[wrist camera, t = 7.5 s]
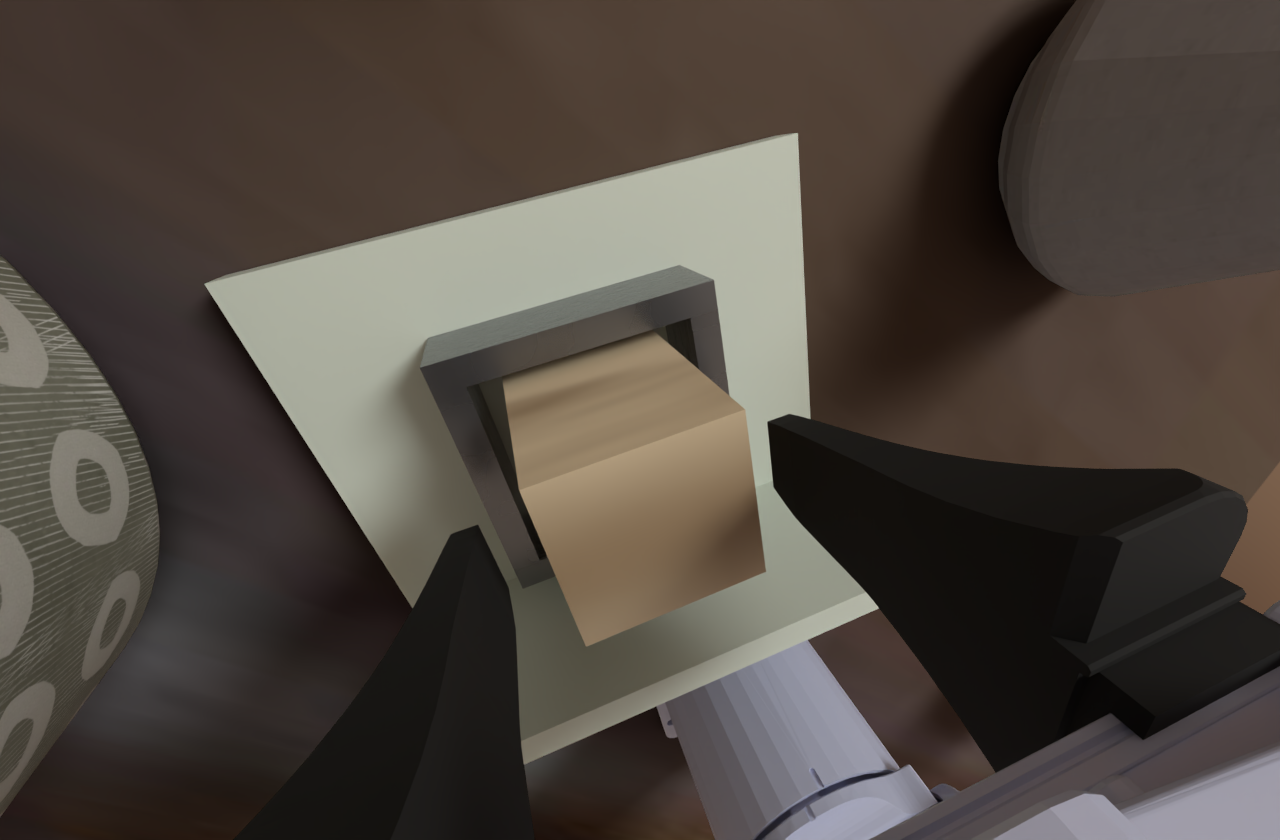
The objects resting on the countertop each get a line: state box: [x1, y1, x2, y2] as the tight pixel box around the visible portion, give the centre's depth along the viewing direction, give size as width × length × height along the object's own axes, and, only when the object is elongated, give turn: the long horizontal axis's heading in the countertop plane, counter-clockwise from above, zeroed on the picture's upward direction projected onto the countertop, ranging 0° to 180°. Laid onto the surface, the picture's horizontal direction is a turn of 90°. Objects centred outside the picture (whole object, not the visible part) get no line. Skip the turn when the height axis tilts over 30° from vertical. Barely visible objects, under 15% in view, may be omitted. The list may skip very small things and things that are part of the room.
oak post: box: [502, 330, 766, 647], centre depth 13 cm, size 4×4×7 cm
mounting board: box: [205, 133, 878, 764], centre depth 14 cm, size 13×16×7 cm
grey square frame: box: [420, 265, 730, 589], centre depth 16 cm, size 9×8×2 cm
